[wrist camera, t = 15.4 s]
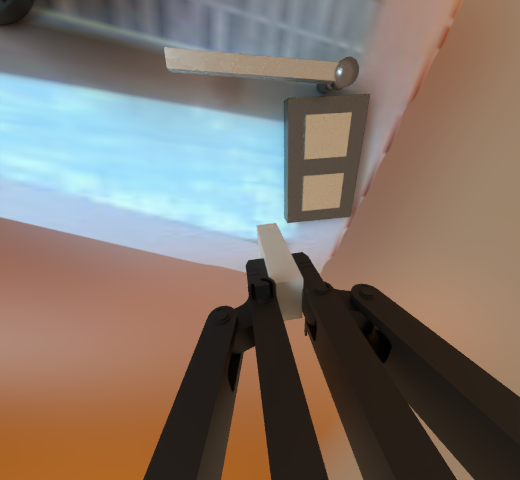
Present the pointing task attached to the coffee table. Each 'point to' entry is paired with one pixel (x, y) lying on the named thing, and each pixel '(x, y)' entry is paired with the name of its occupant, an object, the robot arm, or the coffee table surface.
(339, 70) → the ball-tipped flat stick
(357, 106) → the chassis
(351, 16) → the coffee table surface
